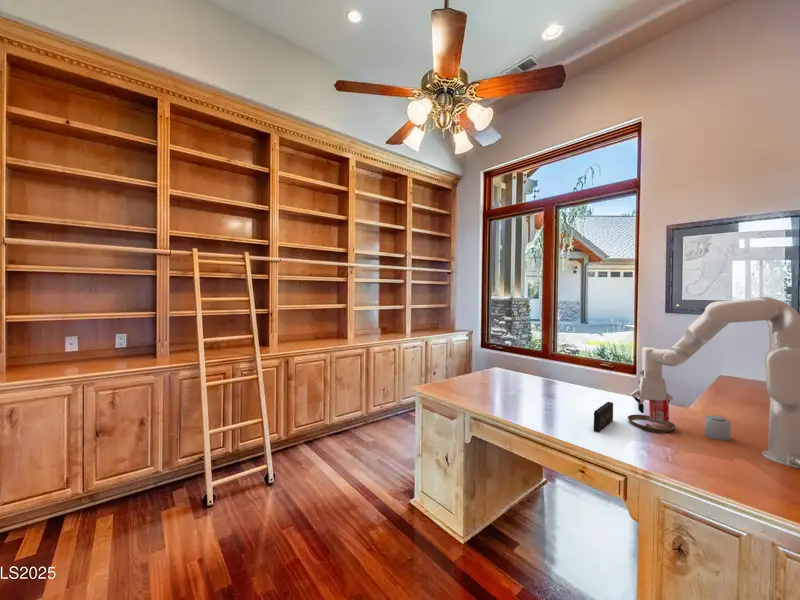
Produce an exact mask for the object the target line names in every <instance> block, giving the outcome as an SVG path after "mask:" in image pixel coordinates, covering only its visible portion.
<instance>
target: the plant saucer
mask: <svg viewBox="0 0 800 600" xmlns="http://www.w3.org/2000/svg"><path fill="white" fill-rule="evenodd" d="M627 419H628V421H629V423H630V424H631V425H633V426H635V427H637V428H640V429H642V430H644V431H647V432H650V433H656V434H661V433H670V432H672V431H674V429H676V427H677V426H676V424H674V423H673V422H671V421H670V420H669V421H668V422H665V423H661V422H656V421H653V420H651V418H650V415H647V414H629V415H628V416H627ZM637 420H640V421H641V420H642V421H649V422H651V423H657V424H660V425H663V426H665V427H667V428H658V427H653V426H652V425H650V424H649V423H646V424H645V425H643V424H640V423H637V422H634V421H637Z"/></svg>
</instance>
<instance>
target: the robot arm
mask: <svg viewBox="0 0 800 600" xmlns="http://www.w3.org/2000/svg"><path fill="white" fill-rule="evenodd" d="M761 321H766V323H767V326H768V336H769V350H768V351H767V352H766V354H765V358H764V359H765V360H764V361H765V363H764V364H765V379H766V383H765V384H766V391H767V393H768V395H769V415H768V419H769V420H768V450H763V451H762V456H763V458H765V459H766V460H770V461H772V462H774V463H776V464H780V465H784V466H788V467H791V468H796V469H800V314H799V312H797V310H796V309H795V308H794V307H792V305H790V304H788V303H786V302H785V301H783V300H780V299H776V298H773V297H769V296H757V297H750V298H741V299H733V300H720V301H719V300H718V301H713V302H711V303H708V304H707V306H706V307H705V308H704V312H703V313H701V315H699V316H698V317H697V318H696V319H695V320H694V321H693V322H692V323H691V324H690V325H689V326H688V327H687V328H686V331H685V333H684V335H683V336H682V337H681V338H680V339H679V340H678V341H677V342H675V344H673V346H672V347H669V348H664V349H663V348H661V347H658V346H643V347H642V348H641V370H638V371H637V374H639V375H640V376H639V379H638V384H637V389H635V390H634V391H633V392H631V393H630V396H631V397H632V398H633V399H634V401H636V402H637V405H638V407H637V410H638V411H639V412H640V413H641V414H644V411H645V410H644V409H645V405H644V404H643V403H644V401H645V400H646V401H649V400H657V401H661V400H662V401H663V400H666V399H667V395H668V397H669V403H670V402H671V401H672V400H673V399H674V397H673V396H672V395H671V394H670V393H668V392H667V385H666V380H665V378H664V377H663V366H667V367H677V366H680V365H681V364H684V363H685V362H687V361H688V360H689V359H690V358H691V357H693V356H694V355H695V354H696V353H697V352H698V351H699V350H700V349H702V348H703V346H705V345H707V344H708V342H709V341H711V340H712V339H713V338H714V337H715V336H716V335H717V334H718V333H720V332H721V331H722V330H723V329H724V328H726V326H728V325H729V324H731V323H733V324H734V323H744V322H745V323H747V322H761ZM664 395H665V396H664Z"/></svg>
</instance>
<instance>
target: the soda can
mask: <svg viewBox="0 0 800 600" xmlns="http://www.w3.org/2000/svg"><path fill="white" fill-rule="evenodd" d="M664 396H665V395H664ZM648 402H649V403H648V405H649V407H648V408H649V416H650V418H651V420H653V421H656V422H661V423H665V422H668V421H669V422H670V405H669V404H670V402H669V397H668V395H667V399H666V400H663V401H662V400H661V401H657V400H648ZM656 422H655V423H656Z"/></svg>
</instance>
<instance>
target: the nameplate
mask: <svg viewBox="0 0 800 600" xmlns="http://www.w3.org/2000/svg"><path fill="white" fill-rule="evenodd" d="M613 421H614V403H613V402H611V401H607V402H605V403H604V404H602V405H601V406H600V407H598V408H597V409H595V410H594V412H593V432H595V433H600V432H601V431H602V430H603V429H605V428H606V427H608V426H609V425H610V424H612V423H613Z"/></svg>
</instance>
